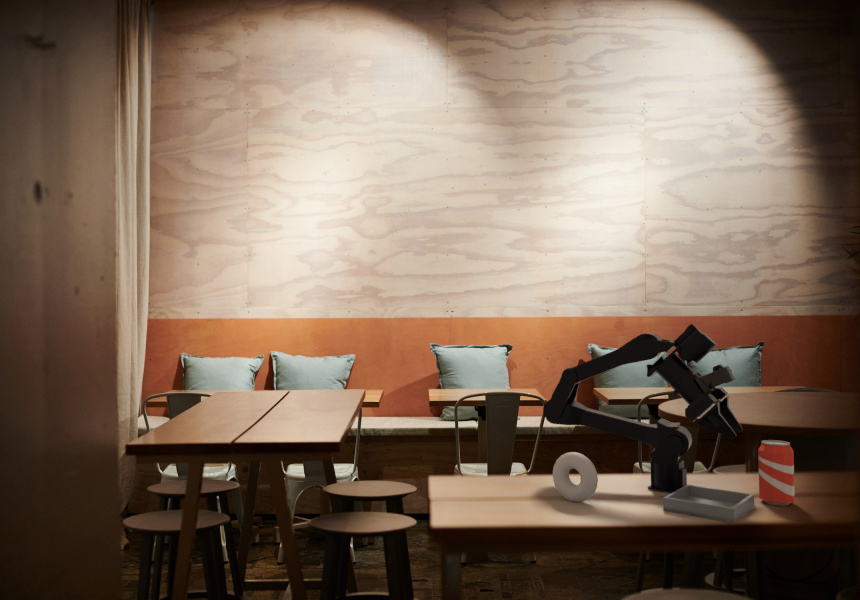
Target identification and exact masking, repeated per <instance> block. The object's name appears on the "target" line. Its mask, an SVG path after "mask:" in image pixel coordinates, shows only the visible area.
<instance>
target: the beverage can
mask: <svg viewBox="0 0 860 600" xmlns="http://www.w3.org/2000/svg"><path fill="white" fill-rule="evenodd" d="M760 442H761V444H760V446H759V448H758V450H757V452H758V454H757V455H758V458H757V459H758V494H759V495H758V498H759V499H760V500H762V501H763V502H764V503H766V504H767V503H768V505H771V506H772V505H773V506H779V507H780V506H783V507H784V506H789V505H790V504H792V503H794V502H795V498H796V496H795V464H794V463H795V461H794V460H795V459H794V458H795V457H794V456H795V455H794V452H795V451H794V449H793V448H792V446H791V442H788V441H784V440H778V439H777V440H775V439H768V440H767V439H766V440H765V439H764V440H761V441H760Z"/></svg>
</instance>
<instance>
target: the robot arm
mask: <svg viewBox="0 0 860 600" xmlns="http://www.w3.org/2000/svg"><path fill="white" fill-rule="evenodd" d="M717 346H718V344H717V343H716V342H715V341H714V340H713V339H712V338H711V337H710V336H709V335H708V334H707V333H706V332H703V331H702V330H701V329H700V328H699V327H697V326H696V325H695V324H694V323H690V324H689V325H688V326H687V327H686V329H685V330H684V331H683V332H682V333H681V334H680V335H678V337H677V338H676V339H675V340H673V339H666V338H665V339H663V338H661V337H660V336H659V335H658V334H656V333H653V332H645V333H640V334H639V335H637V336H635V337H634V338H632V339H631V340H629V341H628V342H626V343H625V344H623V345H622V346H620V347H619V348H617V349H616V350H612V351H610V352H608V353H605V354H602V355H600V356H598V357H595V358H592V359H591V360H588V361H586V362H583V363H580V364H578V365H575V366H573V367H572V366H571V367H568V368H565V369H564V370H563V371H562V372H561V375H560V379H559V382H558V383H557V385H556V386H555V389H554V390H553V393H552V395H551V397H550V399H549V400H547V401H546V402H545V404H544V406H543V409H542V410H543V415H544V418H545V419H546V421H547V422H548V423H551V424H553V425H562V426H583V427H587V428H591V429H595V430H597V431H601V432H605V433H609V434H613V435H617V436H620V437H623V438H627V439H631V440H635V441H639V442H642V443H645V444H646V445H648V446H650V447H652V448H653V450H652V451H651V452H650V454H649V455H650V458H651V459H650V485H649V486H647V490H651V491H657V492H662V493H663V492H664V493H669V494H671V493H673V492H674V491H676V490H678V489H680V488H682V487H684V486H686V485H688V480H687V479H688V476H687V468H685V460H682V459H681V458H682V456H683V455H685V454H686V453H687V452H688V451H689V449H690V448H691V446H692V443H693V438H692V433H690V431H689V430H688V429H687V428H686V427H685V426H682V425H681V422H680V421H678V422H672V421H669V420H667V419H664V418H662V417H661V418H660V419H659V420H658V421H656V423H654V424H653V423H647V422H643V421H639V420H634V419H632V418H627V417H624V416H619V415H615V414H612V413H608V412H604V411H601V410H597V409H593V408H590V407H587V406H585V405H583V404H582V403H580V402H579V401H577V400H576V398H577V395H578V390H579V387H580V384H581V382H582V381H585V380H587V379H590V378H592V377H595V376H597V375H600V374H602V373H606V372H608V371H610V370H611V371H612V370H614V369H616V368H618V367H621V366H623V365H628V364H633V363H639V362H643V361H648V360H652V359H655V358H657V357H659V356H660V355H661V356H660V357H659V358H657V360H656V361H654V363H652V364H649V363H648V364H645V365H646V377H647V378H652V377H653V376H654V375H656V374H658V375H659V376H660V378H662V380H663V381H665V383H667V384H668V386H669V387H671V389H673V391H672V392H673V394H675V396H678V395H679V396H680V397H681V399H682V400H683V401H684V402H685V403H687V404H688V405H687V407H686V408H685V409H684V417H686V418H687V419H688V421H690V422H691V423H694V422H695V424H696V425H700V426H702V427H704V428H706V429H709V430H711V431H713V432H715V433H718V434H720V435H723V436H725V437H727V438H729V439H731V440H734V439H735V438H736V437H737V434H736V432H737V433H741V432H742V431H743V428H744V427H742V425H741V423H740V422H739V419H737V418H736V416H735V414H734V413H733V411H732V409H731V408H730V406H729V401H730V400H729V399H730V397H729V396H730V395H728V394H729V393H728V392H727V390H726V389H724V388H723V387H722V386H720V385H723V384H728V383H731V382H733V381H734V380H736V378H735V376H734V374H733V371H732V369H731V368H730V366H729V365H726V366H723V364H721V363H719V364H717V365H714V366H713V367H712V371H711V372H709V373H707V374H704V375H703V374H702V373H700V372H699V371H698V372H697V371H694V370H693V368H691V367H690V366H688V364H691V363H692V362H694V363H696V364H699V363H700V362H701V360H703V359H704V358H705V357H706V356H707V355H708V354H709V353H710V352H711V351H713V350H714V348H715V347H717ZM674 348H675V349H674ZM672 350H673V351H672ZM669 351H672V352H670V354H669V355H667V356H666V357H665V356H664V355H662V353H665V352H669ZM677 354H678V355H677ZM685 361H686V362H685ZM687 363H688V364H687ZM698 418H699V419H698ZM735 431H736V432H735ZM680 459H681V460H680Z"/></svg>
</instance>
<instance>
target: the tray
mask: <svg viewBox="0 0 860 600" xmlns="http://www.w3.org/2000/svg"><path fill="white" fill-rule="evenodd" d="M662 500H663V501H662V503H663V505H662V506H663V507H662V508H663V512H669V513H670V512H671V513H675V514H681V515H686V516H693V517H698V518H703V519H704V518H705V519H709V520H715V521H721V522H727V523H732V524H735V523H736V522H738V521H739V520H740V519H742V518H743V517H744V516H745V515H747V514H748V513H749V512H750V511H752V510H753V509H755V494H754V493H747V492H740V491H732V490H725V489H720V488H712V487H705V486H701V485H692V484H687V485H686V486H684V487H682V488H680V489H678V490H676V491H674V492H673V493H669V494H667V495H665V496H664V497H663V498H662Z"/></svg>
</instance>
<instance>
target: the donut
mask: <svg viewBox="0 0 860 600" xmlns="http://www.w3.org/2000/svg"><path fill="white" fill-rule="evenodd" d="M573 469H574V470H575V471H577V472H578V474H579V477H580V482H579V484H574V482H572V481H571V478H570V471H571V470H573ZM552 480H553V483H554V486H555V488H556V490H557V491H558V492H559V494H560V495H561V496H562V497H563V498H564V499H566V500H568V501H571V502H575V503H582V502H585V501H588V500H589V499H591V497H592V496H593V495H595V493H596V490H597V488H598V482H599V477H598V472H597V469H596V467H595V465H594V463H593V462H592V461H591V460H590V459H589V458H588V457H587V456H585V455H584V453H583V454H582V453H580V452H576V451H570V452H565V453H563V454H562V455H560V456H559V457H558V458H557V459H556V461H555V462H554V465H553V469H552Z"/></svg>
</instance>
